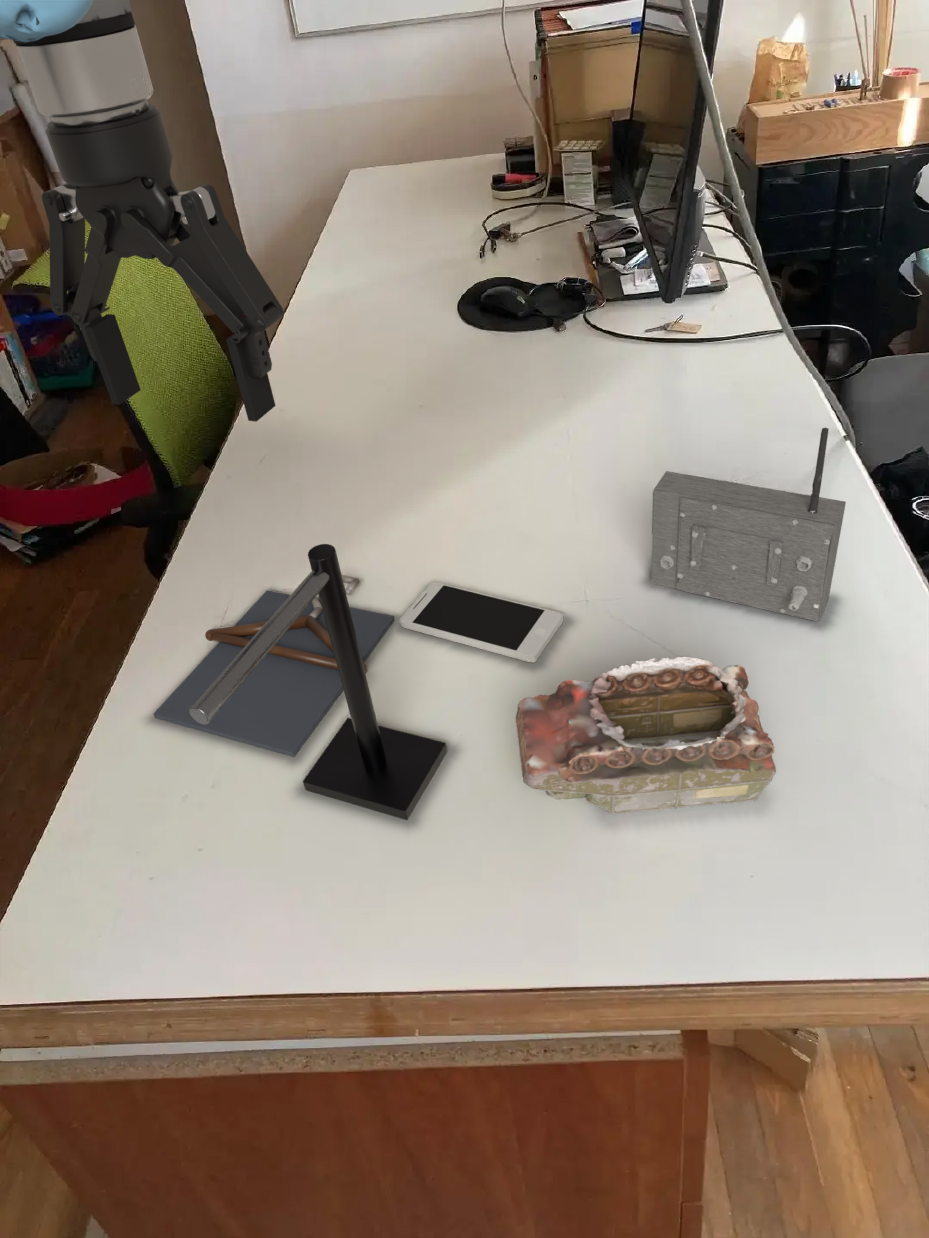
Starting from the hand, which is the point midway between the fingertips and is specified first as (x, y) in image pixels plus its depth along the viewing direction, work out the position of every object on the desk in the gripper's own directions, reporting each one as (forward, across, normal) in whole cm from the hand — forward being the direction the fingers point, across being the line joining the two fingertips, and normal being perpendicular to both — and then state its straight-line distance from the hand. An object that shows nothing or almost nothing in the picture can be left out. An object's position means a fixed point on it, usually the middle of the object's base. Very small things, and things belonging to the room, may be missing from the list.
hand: (192, 405), depth 75 cm
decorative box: (+29, -39, +4) cm, 49 cm away
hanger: (+28, 0, -1) cm, 28 cm away
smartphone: (+29, -17, -12) cm, 36 cm away
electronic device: (+29, -40, -24) cm, 55 cm away
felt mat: (+29, 0, -1) cm, 29 cm away
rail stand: (+29, -16, +14) cm, 36 cm away
